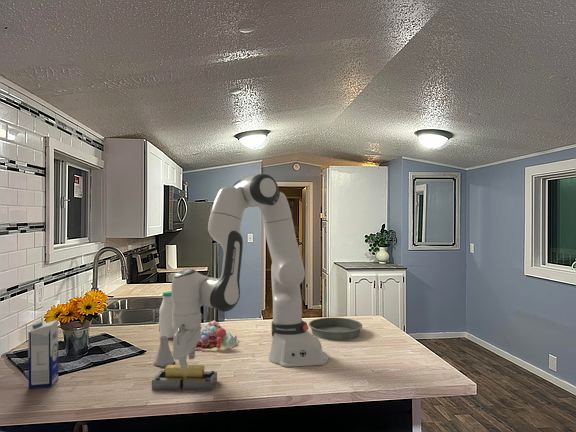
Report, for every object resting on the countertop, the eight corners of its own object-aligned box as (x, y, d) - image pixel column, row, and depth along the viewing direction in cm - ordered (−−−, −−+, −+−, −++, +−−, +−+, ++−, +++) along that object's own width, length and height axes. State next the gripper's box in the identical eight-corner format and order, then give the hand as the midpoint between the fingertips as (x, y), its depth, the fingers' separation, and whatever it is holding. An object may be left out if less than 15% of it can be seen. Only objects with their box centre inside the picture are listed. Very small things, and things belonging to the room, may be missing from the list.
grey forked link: (217, 380, 143) (217, 370, 143) (211, 390, 135) (211, 380, 135) (190, 380, 144) (190, 370, 144) (183, 390, 136) (183, 379, 136)
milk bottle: (180, 335, 195) (180, 291, 195) (167, 340, 189) (167, 294, 188) (168, 333, 199) (168, 289, 199) (155, 337, 193) (155, 292, 193)
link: (187, 380, 144) (187, 370, 144) (179, 390, 136) (179, 379, 136) (160, 379, 144) (160, 369, 144) (151, 389, 136) (151, 378, 136)
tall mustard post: (204, 380, 141) (204, 365, 141) (202, 383, 138) (202, 368, 138) (168, 379, 142) (168, 364, 141) (165, 383, 139) (165, 367, 139)
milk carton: (51, 386, 139) (51, 324, 138) (28, 388, 137) (27, 325, 137) (58, 378, 146) (57, 319, 145) (36, 380, 144) (35, 320, 144)
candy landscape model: (169, 350, 176) (169, 327, 175) (192, 334, 199) (192, 314, 199) (229, 353, 171) (229, 330, 171) (245, 336, 194) (245, 316, 194)
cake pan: (298, 336, 195) (298, 326, 195) (323, 324, 216) (323, 315, 216) (349, 345, 182) (349, 334, 182) (370, 331, 203) (370, 321, 203)
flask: (163, 368, 155) (163, 340, 154) (149, 364, 158) (149, 337, 158) (178, 362, 161) (178, 335, 161) (164, 359, 165) (164, 332, 164)
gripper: (187, 329, 129) (189, 376, 129) (203, 313, 149) (204, 353, 149) (166, 330, 129) (168, 376, 129) (185, 313, 149) (186, 353, 150)
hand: (188, 363), depth 139 cm, fingers open, 8 cm apart
